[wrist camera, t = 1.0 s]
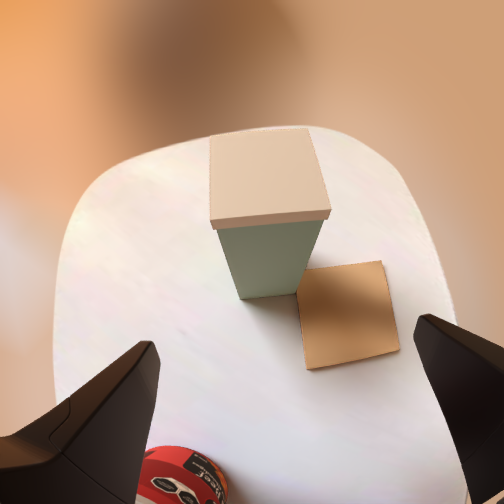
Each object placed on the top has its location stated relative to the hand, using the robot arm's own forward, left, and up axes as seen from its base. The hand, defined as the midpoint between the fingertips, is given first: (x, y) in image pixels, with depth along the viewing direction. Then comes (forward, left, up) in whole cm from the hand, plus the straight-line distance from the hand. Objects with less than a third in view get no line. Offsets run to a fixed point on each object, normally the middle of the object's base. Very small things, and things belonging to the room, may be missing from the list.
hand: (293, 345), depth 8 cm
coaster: (+3, -6, -13) cm, 15 cm away
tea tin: (+7, 0, -13) cm, 15 cm away
